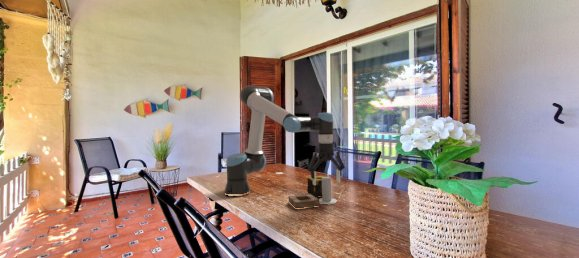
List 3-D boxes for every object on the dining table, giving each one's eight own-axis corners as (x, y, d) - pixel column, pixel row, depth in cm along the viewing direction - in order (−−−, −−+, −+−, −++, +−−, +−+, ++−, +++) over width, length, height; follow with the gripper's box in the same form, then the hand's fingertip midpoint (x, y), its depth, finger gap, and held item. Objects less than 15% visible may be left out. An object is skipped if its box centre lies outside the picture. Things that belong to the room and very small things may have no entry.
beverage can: (325, 198, 143) (324, 176, 143) (333, 199, 140) (332, 177, 140) (320, 200, 139) (319, 177, 139) (328, 202, 136) (327, 178, 136)
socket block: (288, 202, 140) (288, 196, 140) (310, 200, 144) (310, 193, 143) (296, 210, 129) (296, 202, 128) (319, 207, 132) (319, 199, 132)
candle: (307, 194, 157) (306, 176, 156) (322, 192, 160) (322, 175, 159) (313, 198, 147) (313, 180, 147) (330, 196, 150) (330, 178, 150)
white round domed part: (314, 200, 143) (314, 199, 143) (331, 198, 146) (331, 197, 146) (322, 206, 134) (322, 204, 134) (340, 203, 137) (340, 202, 137)
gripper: (305, 144, 132) (306, 187, 132) (351, 142, 139) (351, 183, 140) (300, 143, 139) (301, 184, 140) (344, 141, 146) (344, 180, 147)
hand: (326, 183), depth 140 cm, fingers open, 13 cm apart
